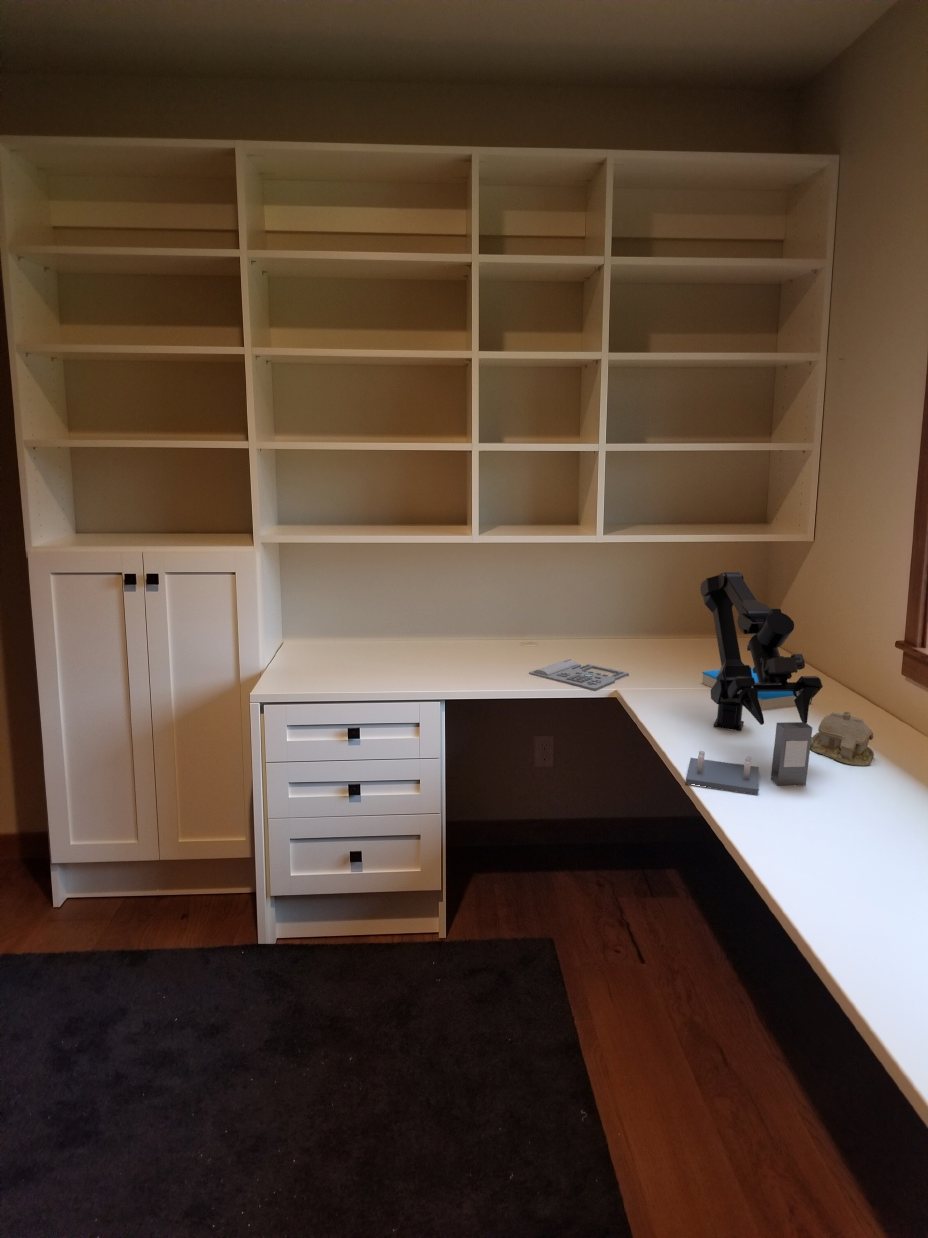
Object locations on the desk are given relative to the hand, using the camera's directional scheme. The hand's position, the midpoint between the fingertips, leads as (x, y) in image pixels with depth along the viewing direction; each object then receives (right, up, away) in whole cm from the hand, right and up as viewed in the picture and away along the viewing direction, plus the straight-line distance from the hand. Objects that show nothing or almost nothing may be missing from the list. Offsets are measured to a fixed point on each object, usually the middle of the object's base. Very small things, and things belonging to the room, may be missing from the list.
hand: (784, 723), depth 174 cm
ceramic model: (+18, -9, +14) cm, 24 cm away
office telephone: (-33, +5, +71) cm, 78 cm away
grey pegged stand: (-13, -11, 0) cm, 17 cm away
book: (+13, +1, +56) cm, 58 cm away
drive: (0, -12, -2) cm, 12 cm away
